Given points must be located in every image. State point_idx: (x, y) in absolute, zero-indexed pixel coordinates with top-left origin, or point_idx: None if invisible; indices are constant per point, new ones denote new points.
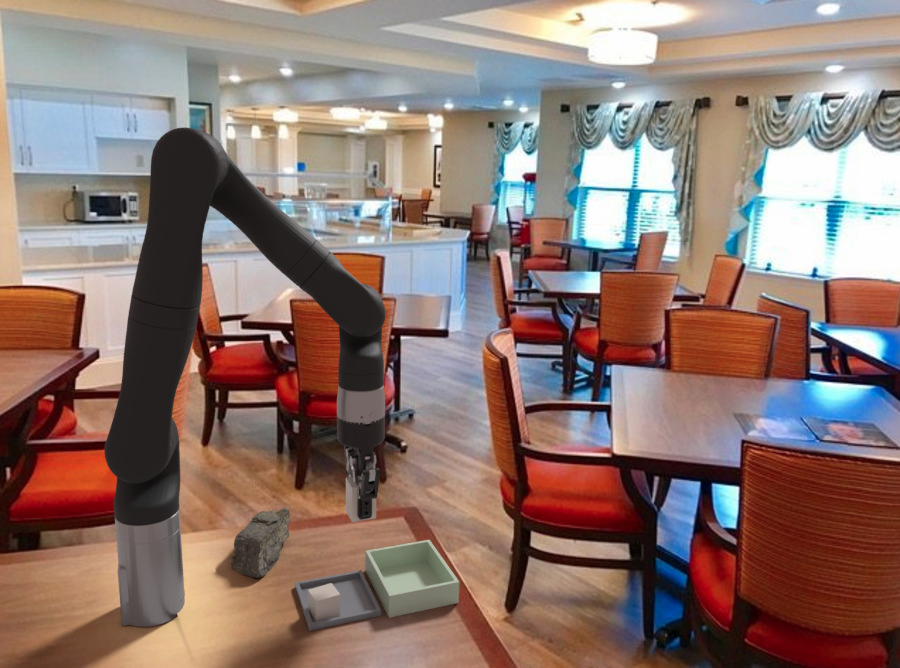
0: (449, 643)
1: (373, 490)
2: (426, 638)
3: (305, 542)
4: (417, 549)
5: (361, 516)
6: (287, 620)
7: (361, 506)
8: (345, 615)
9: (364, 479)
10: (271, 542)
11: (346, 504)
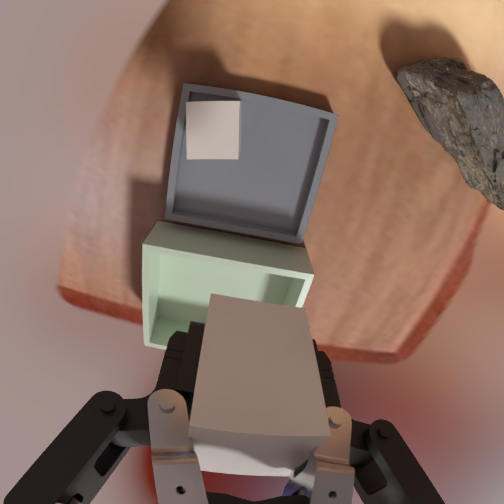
0: (87, 267)
1: (110, 448)
2: (103, 248)
3: (448, 206)
4: None
5: (179, 333)
6: (248, 62)
7: (171, 366)
8: (178, 155)
9: (17, 483)
10: (454, 127)
11: (298, 329)
